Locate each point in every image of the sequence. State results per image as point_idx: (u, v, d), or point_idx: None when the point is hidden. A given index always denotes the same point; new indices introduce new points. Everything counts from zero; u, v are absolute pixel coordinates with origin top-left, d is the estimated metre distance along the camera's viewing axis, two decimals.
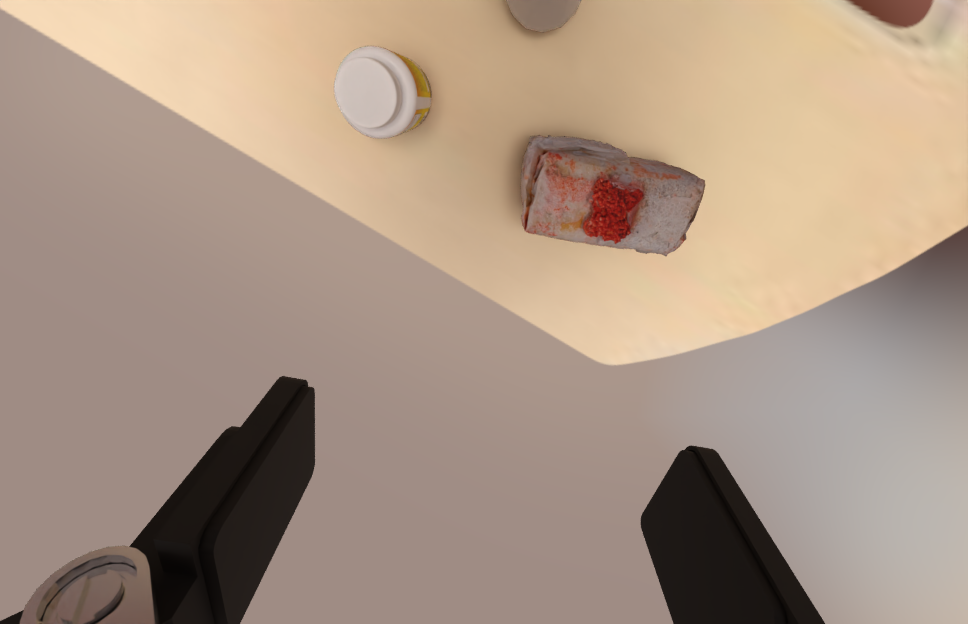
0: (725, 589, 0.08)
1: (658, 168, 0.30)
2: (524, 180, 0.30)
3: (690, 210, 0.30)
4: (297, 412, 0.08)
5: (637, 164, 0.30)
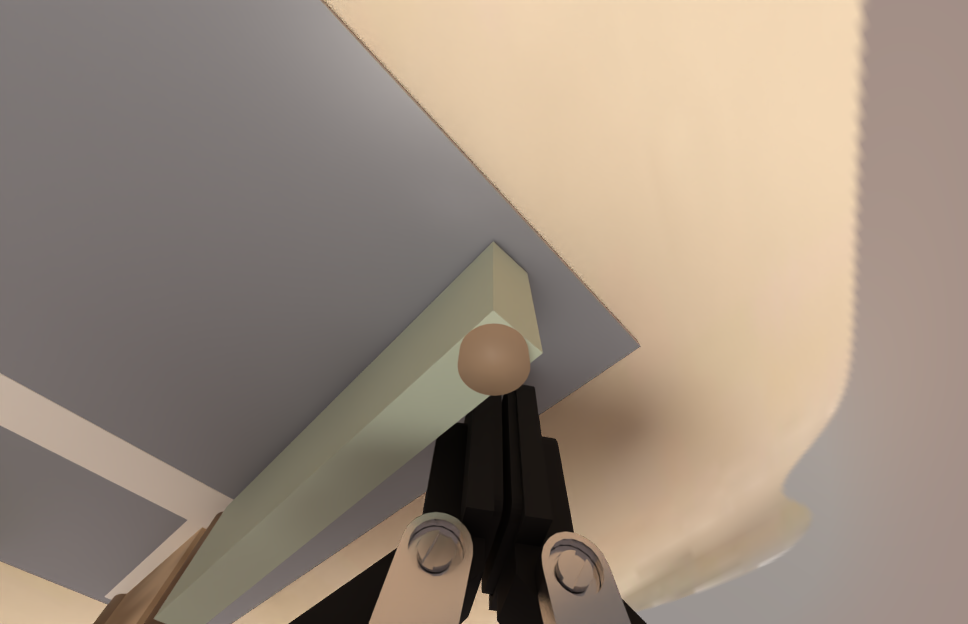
0: None
1: None
2: None
3: None
4: None
5: None
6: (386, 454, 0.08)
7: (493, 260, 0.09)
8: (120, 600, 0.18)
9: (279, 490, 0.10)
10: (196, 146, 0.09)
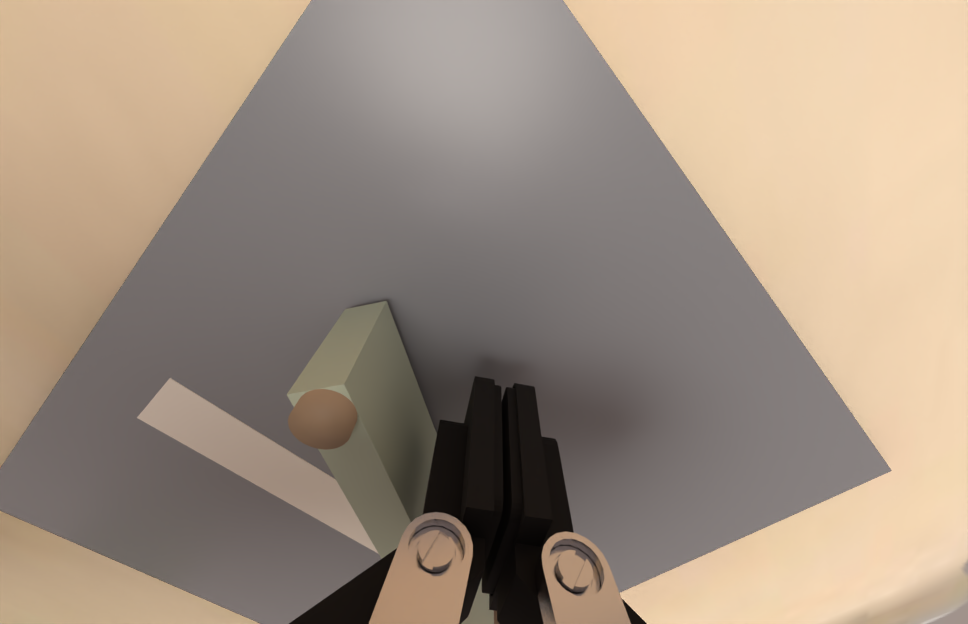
0: None
1: None
2: None
3: None
4: None
5: None
6: (389, 515, 0.10)
7: (329, 333, 0.10)
8: None
9: None
10: (598, 341, 0.12)
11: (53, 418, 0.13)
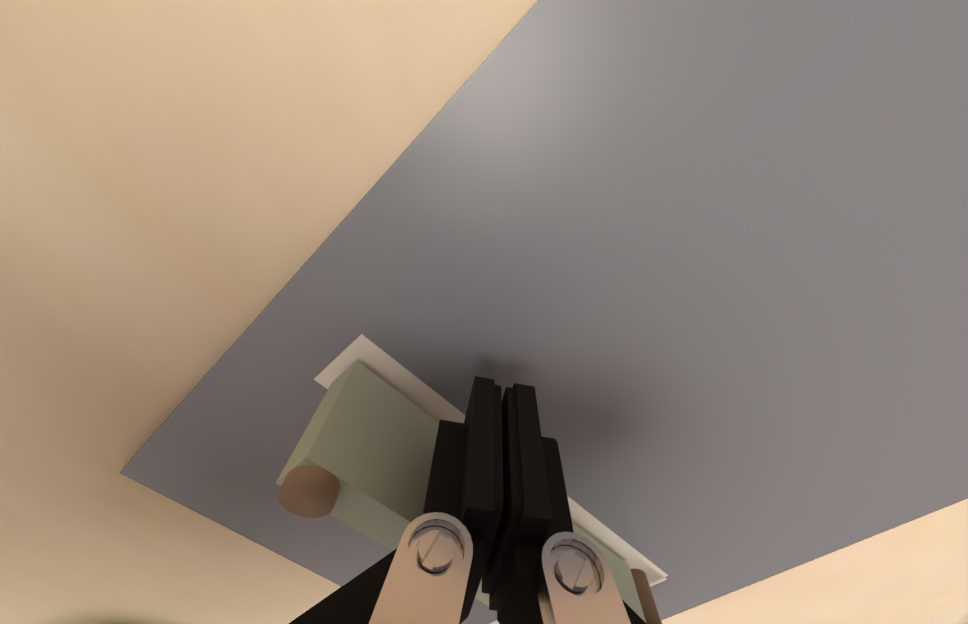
0: None
1: None
2: None
3: None
4: None
5: None
6: None
7: (316, 411, 0.11)
8: None
9: None
10: (841, 293, 0.11)
11: (223, 379, 0.13)
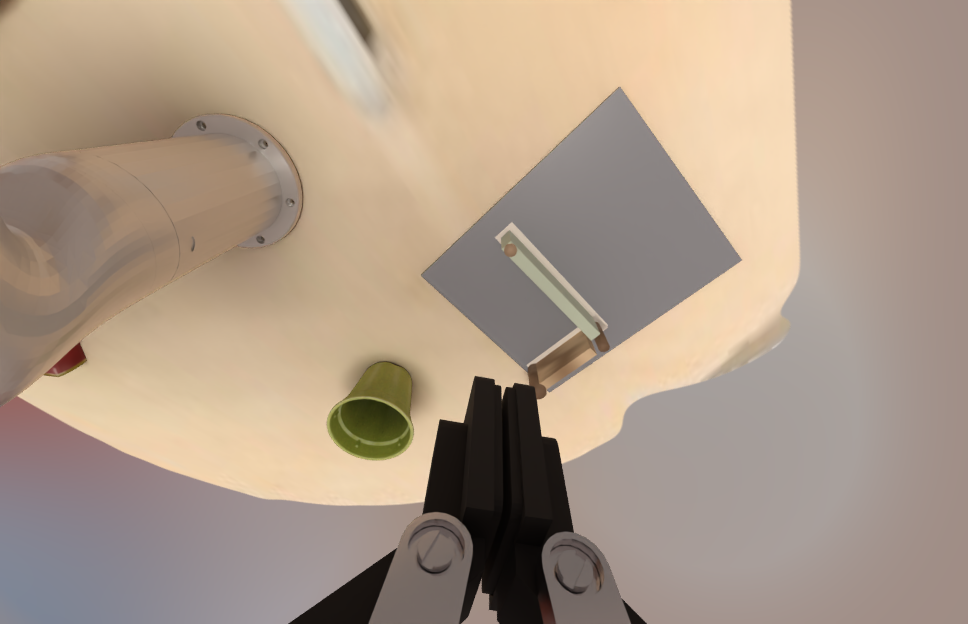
0: None
1: None
2: None
3: None
4: None
5: None
6: (534, 272, 0.39)
7: (501, 241, 0.40)
8: (535, 365, 0.49)
9: None
10: (645, 208, 0.40)
11: (467, 237, 0.42)
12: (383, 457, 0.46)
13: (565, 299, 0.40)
